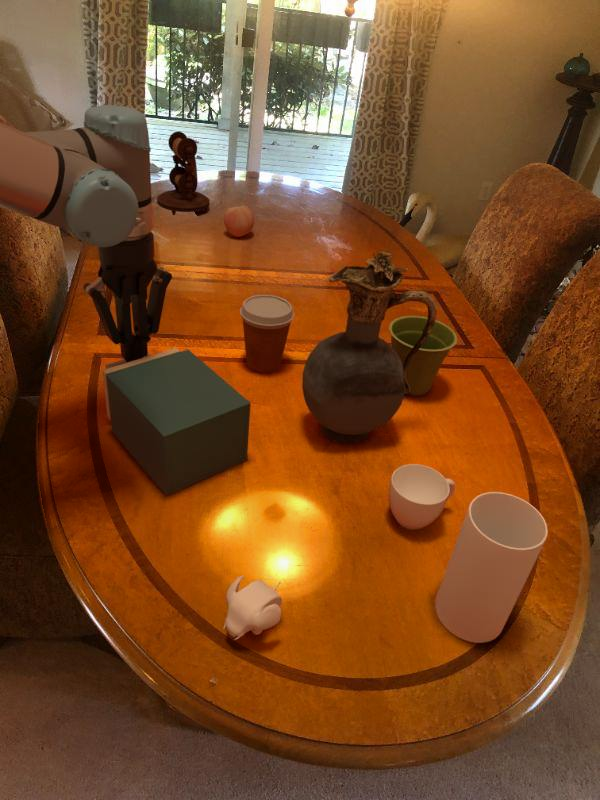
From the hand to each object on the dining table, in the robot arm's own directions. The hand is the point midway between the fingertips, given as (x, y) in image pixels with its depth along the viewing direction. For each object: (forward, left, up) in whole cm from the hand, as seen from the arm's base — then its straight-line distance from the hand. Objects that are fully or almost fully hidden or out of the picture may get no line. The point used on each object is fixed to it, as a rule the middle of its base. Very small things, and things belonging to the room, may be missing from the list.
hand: (136, 374), depth 98 cm
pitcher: (+31, +18, -6) cm, 36 cm away
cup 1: (+48, +7, -6) cm, 49 cm away
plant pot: (+32, +36, -6) cm, 49 cm away
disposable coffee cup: (+8, +23, -6) cm, 25 cm away
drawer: (+7, -2, -5) cm, 9 cm away
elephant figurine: (+41, -20, -6) cm, 46 cm away
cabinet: (+13, -4, -5) cm, 14 cm away
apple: (-36, +68, -6) cm, 78 cm away
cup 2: (+60, -3, -6) cm, 60 cm away
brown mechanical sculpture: (-60, +72, -6) cm, 94 cm away
